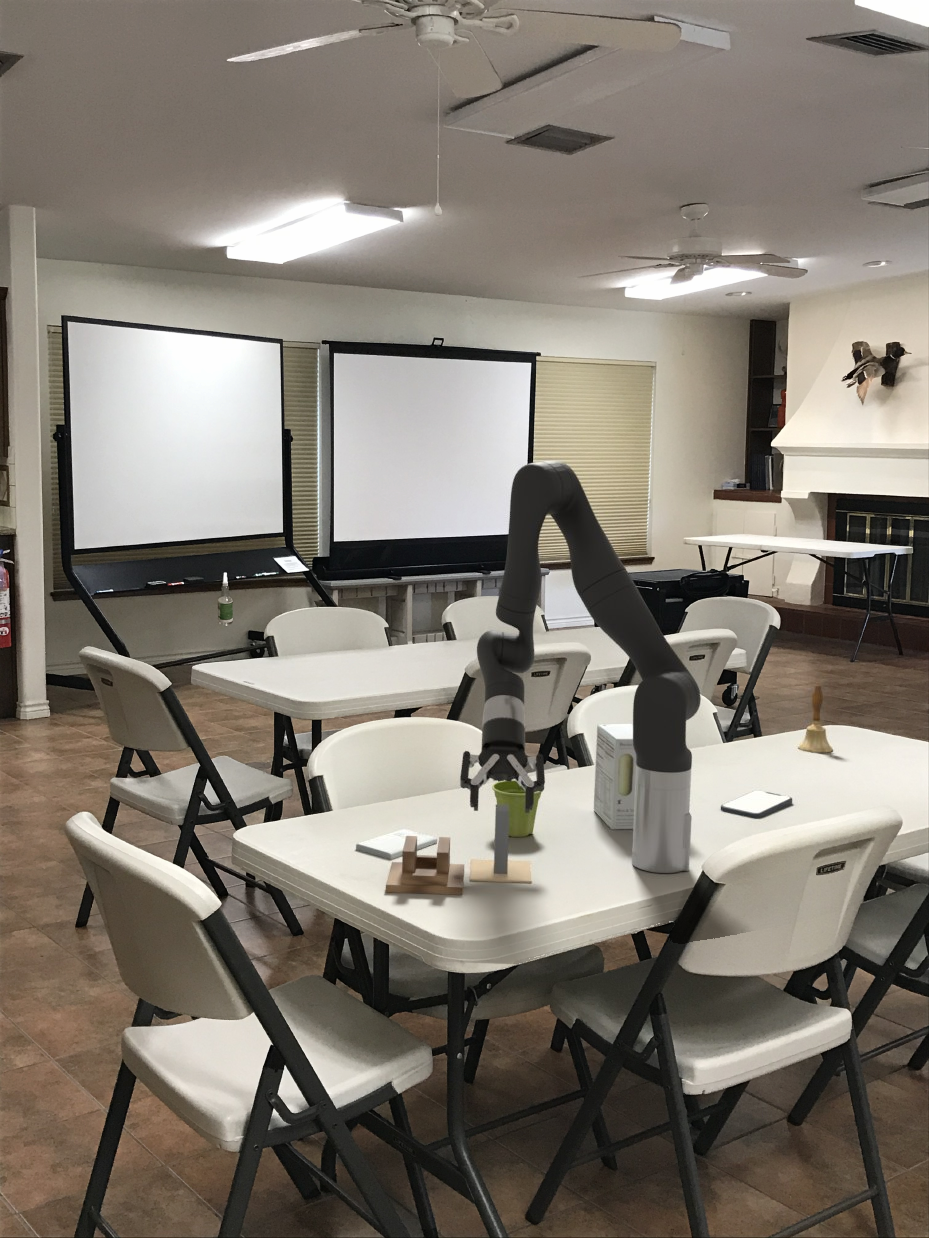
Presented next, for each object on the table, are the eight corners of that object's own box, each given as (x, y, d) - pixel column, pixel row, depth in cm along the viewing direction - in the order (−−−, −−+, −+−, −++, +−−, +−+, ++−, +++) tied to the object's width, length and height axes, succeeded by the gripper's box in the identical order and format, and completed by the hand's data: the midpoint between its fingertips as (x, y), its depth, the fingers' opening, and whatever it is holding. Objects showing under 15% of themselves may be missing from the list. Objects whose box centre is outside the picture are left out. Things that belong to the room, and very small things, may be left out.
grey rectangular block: (507, 866, 199) (508, 804, 198) (507, 873, 195) (509, 811, 194) (493, 865, 199) (495, 804, 198) (493, 873, 195) (495, 811, 194)
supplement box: (610, 830, 222) (614, 738, 220) (592, 810, 235) (595, 723, 233) (679, 828, 224) (683, 737, 222) (657, 809, 237) (661, 722, 235)
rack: (464, 871, 197) (465, 834, 196) (462, 894, 186) (463, 856, 185) (391, 868, 197) (392, 832, 196) (385, 892, 186) (386, 853, 185)
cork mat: (529, 862, 202) (529, 861, 202) (531, 882, 192) (531, 880, 192) (470, 860, 202) (471, 859, 202) (469, 880, 192) (469, 878, 192)
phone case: (758, 822, 232) (794, 804, 244) (758, 814, 232) (795, 797, 244) (717, 813, 237) (755, 796, 249) (717, 805, 237) (755, 789, 249)
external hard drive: (355, 852, 207) (402, 836, 217) (391, 862, 202) (437, 845, 212) (355, 843, 207) (402, 827, 217) (391, 853, 202) (437, 836, 212)
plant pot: (547, 839, 215) (548, 792, 214) (496, 841, 214) (497, 793, 212) (535, 824, 224) (537, 779, 223) (486, 825, 223) (487, 780, 222)
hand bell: (799, 751, 290) (803, 687, 288) (796, 744, 298) (799, 681, 296) (835, 753, 289) (839, 689, 287) (830, 746, 297) (834, 683, 295)
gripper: (463, 714, 205) (458, 797, 195) (545, 717, 205) (545, 800, 195) (463, 737, 211) (459, 819, 201) (543, 740, 211) (543, 822, 201)
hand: (501, 809), depth 198 cm, fingers open, 8 cm apart
